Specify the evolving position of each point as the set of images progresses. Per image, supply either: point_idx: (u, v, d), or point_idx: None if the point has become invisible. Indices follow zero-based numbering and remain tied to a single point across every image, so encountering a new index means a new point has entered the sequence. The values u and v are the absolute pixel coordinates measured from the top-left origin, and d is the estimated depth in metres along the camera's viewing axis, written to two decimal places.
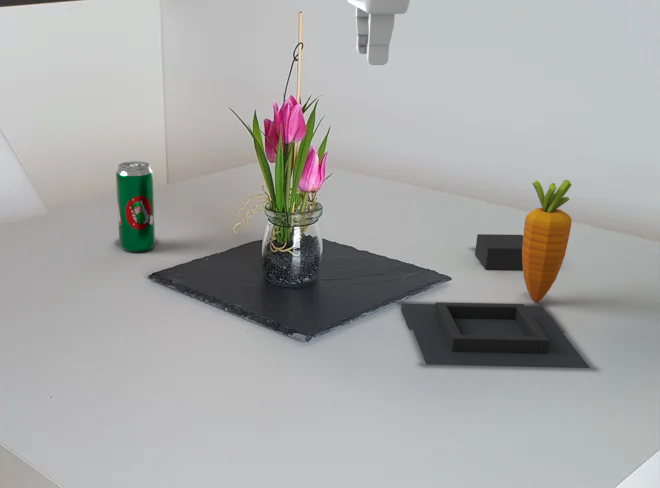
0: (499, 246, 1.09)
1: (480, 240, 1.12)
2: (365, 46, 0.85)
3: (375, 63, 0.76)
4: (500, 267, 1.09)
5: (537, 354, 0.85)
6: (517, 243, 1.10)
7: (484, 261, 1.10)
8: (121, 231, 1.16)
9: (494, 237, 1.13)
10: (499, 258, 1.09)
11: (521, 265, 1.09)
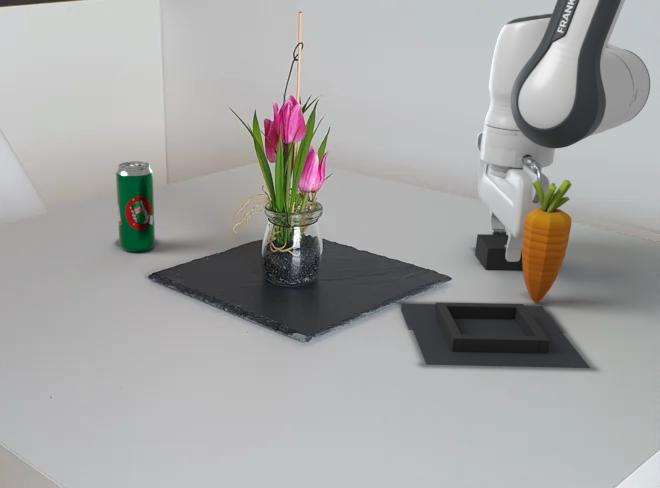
0: (499, 246, 1.09)
1: (480, 240, 1.12)
2: None
3: (511, 260, 1.08)
4: (500, 267, 1.09)
5: (537, 354, 0.85)
6: None
7: (484, 261, 1.10)
8: (121, 231, 1.16)
9: (494, 237, 1.13)
10: (498, 258, 1.09)
11: (521, 265, 1.09)
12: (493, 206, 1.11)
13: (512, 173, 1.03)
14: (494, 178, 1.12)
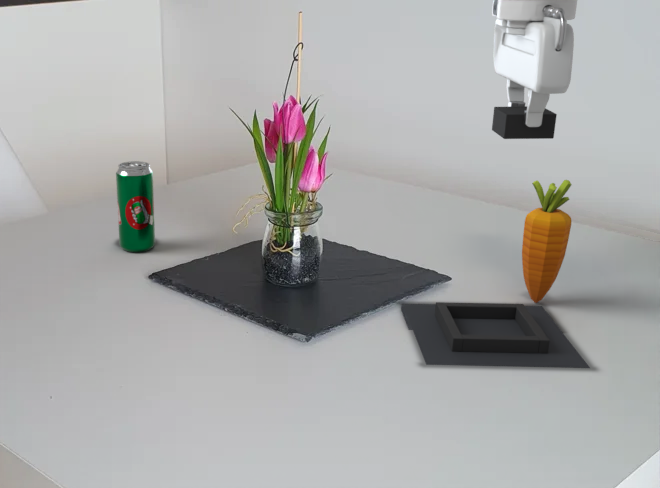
0: (518, 113, 1.02)
1: (497, 111, 1.06)
2: None
3: (532, 125, 1.01)
4: (520, 136, 1.03)
5: (537, 354, 0.85)
6: None
7: (502, 130, 1.04)
8: (121, 231, 1.16)
9: (512, 108, 1.06)
10: (518, 126, 1.02)
11: (542, 133, 1.03)
12: (511, 72, 1.04)
13: (532, 25, 0.96)
14: (511, 43, 1.05)
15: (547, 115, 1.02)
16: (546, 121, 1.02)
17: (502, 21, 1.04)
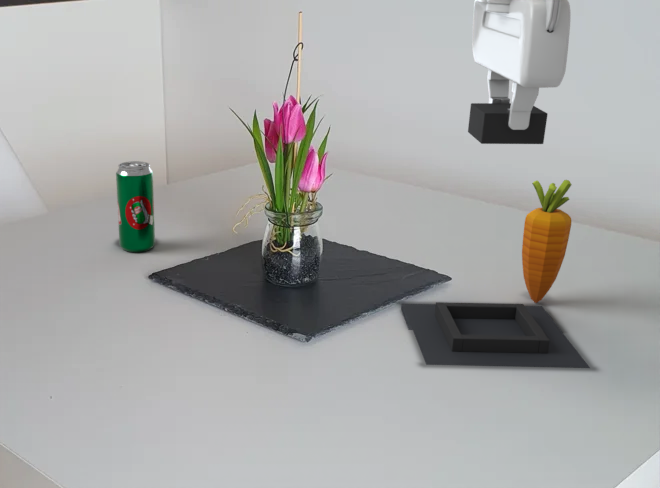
0: (499, 112, 0.82)
1: (474, 109, 0.85)
2: None
3: (516, 128, 0.80)
4: (501, 140, 0.82)
5: (537, 354, 0.85)
6: None
7: (480, 133, 0.83)
8: (121, 231, 1.16)
9: (492, 105, 0.85)
10: (499, 128, 0.81)
11: (529, 137, 0.82)
12: (492, 60, 0.83)
13: (518, 0, 0.75)
14: (493, 24, 0.84)
15: (536, 115, 0.81)
16: (534, 122, 0.81)
17: None
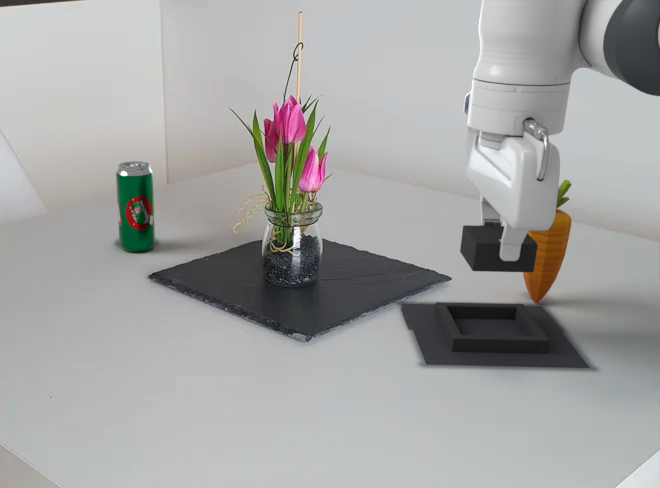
0: (490, 241, 0.83)
1: (466, 233, 0.86)
2: None
3: (507, 259, 0.82)
4: (492, 268, 0.84)
5: (537, 354, 0.85)
6: None
7: (471, 260, 0.84)
8: (121, 231, 1.16)
9: (484, 229, 0.87)
10: (490, 257, 0.83)
11: (520, 266, 0.83)
12: (484, 188, 0.85)
13: (509, 142, 0.77)
14: (485, 152, 0.86)
15: (526, 245, 0.82)
16: (525, 252, 0.83)
17: None
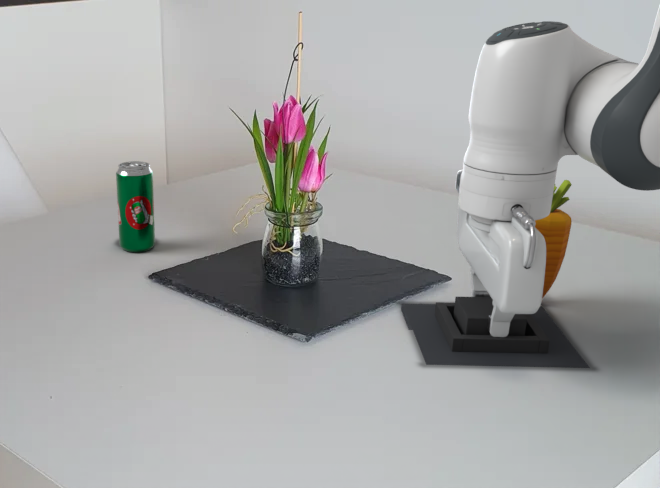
0: (481, 315, 0.86)
1: (459, 305, 0.89)
2: None
3: (497, 335, 0.85)
4: None
5: (537, 354, 0.85)
6: None
7: (463, 333, 0.87)
8: (121, 231, 1.16)
9: (476, 301, 0.90)
10: (481, 331, 0.86)
11: None
12: (475, 265, 0.88)
13: (498, 228, 0.80)
14: (476, 228, 0.89)
15: (516, 320, 0.85)
16: (515, 326, 0.86)
17: None
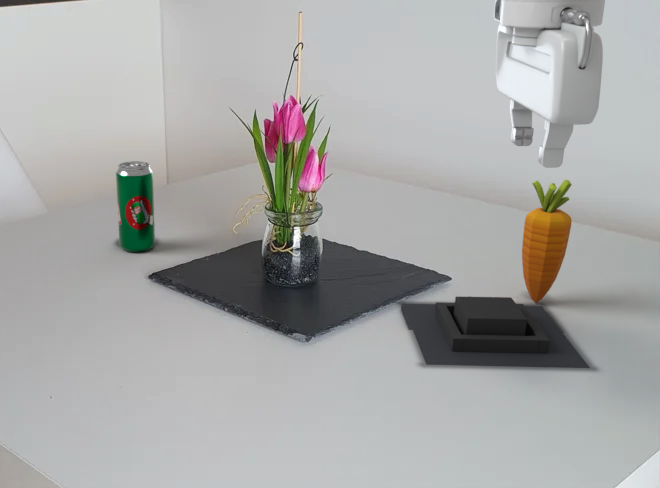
0: (481, 315, 0.86)
1: (459, 305, 0.89)
2: (522, 139, 0.86)
3: (549, 166, 0.77)
4: None
5: (537, 354, 0.85)
6: (505, 311, 0.87)
7: (463, 333, 0.87)
8: (121, 231, 1.16)
9: (476, 301, 0.90)
10: (481, 331, 0.86)
11: None
12: (519, 93, 0.81)
13: (547, 34, 0.73)
14: (519, 56, 0.82)
15: (516, 320, 0.85)
16: (515, 326, 0.86)
17: (507, 27, 0.81)
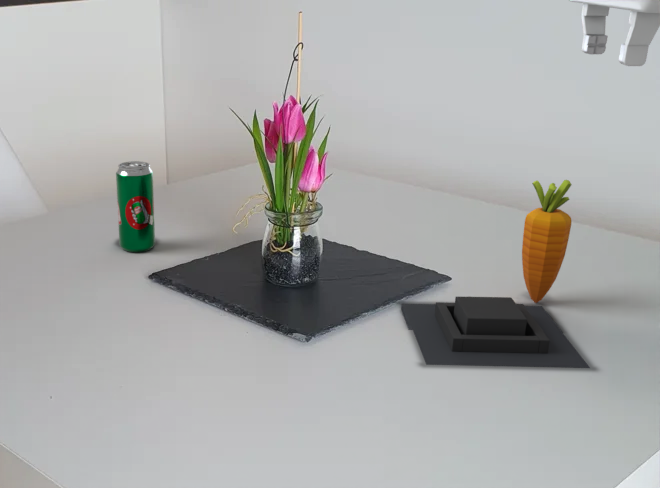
0: (481, 315, 0.86)
1: (459, 305, 0.89)
2: (595, 46, 0.82)
3: (632, 64, 0.73)
4: None
5: (537, 354, 0.85)
6: (505, 311, 0.87)
7: (463, 333, 0.87)
8: (121, 231, 1.16)
9: (476, 301, 0.90)
10: (481, 331, 0.86)
11: None
12: None
13: None
14: None
15: (516, 320, 0.85)
16: (515, 326, 0.86)
17: None
